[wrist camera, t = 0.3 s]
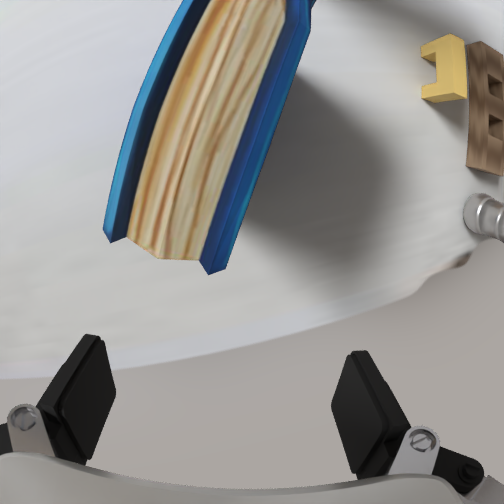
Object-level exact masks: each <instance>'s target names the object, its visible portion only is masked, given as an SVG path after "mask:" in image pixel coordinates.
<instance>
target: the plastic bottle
mask: <svg viewBox="0 0 504 504" xmlns="http://www.w3.org/2000/svg"><path fill="white" fill-rule="evenodd" d="M463 216H464V220H465V223H466V225H467V227H468V228H469V229H471V230H472V231H473V232H475V233H478V234H482V235H487V236H490V237H493V238H496V239H498V240H500V241H502V242H503V243H504V204H503V203H501V202H499V201H497V200H495V199H494V198H492V197H491V196H489V195H487V194H484V193H476V194H473V195H472V196H471V197H469V198H468V200H467V201H466V203H465V206H464V212H463Z"/></svg>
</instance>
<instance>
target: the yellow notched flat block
mask: <svg viewBox="0 0 504 504" xmlns="http://www.w3.org/2000/svg"><path fill="white" fill-rule="evenodd" d="M421 57H422V58H425V59H427V60H430V61H432V62H436V76H437V83H432V84H428V85H424V86H422V99H425V100H428V101H431V102H434V103H436V102H443V101H451V100H458V99H467V75H466V58H465V47H464V40H462V39H460V38H459V37H457V36H455V35H453V34H451V33H450V34H448V35H445V36H443V37H441V38H438V39H436V40H434V41H431V42H429V43H427V44H425V45H423V46H421Z"/></svg>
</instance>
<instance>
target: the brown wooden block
mask: <svg viewBox="0 0 504 504" xmlns="http://www.w3.org/2000/svg"><path fill="white" fill-rule="evenodd" d="M466 46H467V57H468V72H469V133H468V148H467V160H466V166H467V167H471V168H474V169H477V170H480V171H483V172H486V173H490V174H494V175H499V176H503V173H504V60H503V55H502V54H500V53H499V52H497V51H496V50H494V49H493V48H491V47H490V46H488V45H486V44H485V43H483V42H481V41H479V42H476V43H472V44H469V45H466Z"/></svg>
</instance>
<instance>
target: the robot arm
mask: <svg viewBox="0 0 504 504" xmlns="http://www.w3.org/2000/svg"><path fill="white" fill-rule="evenodd" d="M115 397H116V388H115V384H114V381H113V377H112V373H111V368H110V364H109V360H108V356H107V351H106V346H105V342H104V341H103V340H101V338H100V337H99V336H96V335H90V334H85V335H84V336H83V338H82V339H81V340H80V342H79V343H78V345H77V346H76V347H75V349H74V350H73V352H72V353H71V355H70V356H69V358H68V359H67V361H66V362H65V363H64V364H63V365H62V366H61V368H60V369H59V371H58V372H57V374H56V375H55V377H54V378H53V380H52V382H51V383H50V385H49V386H48V388H47V390H46V391H45V393H44V394H43V396H42V397H41V399H40V400H39V402H38V404H37V405H36V407H35V406H33V405H30V404H20V405H18V406H15V407H14V408H13V409H12V410H11V411H10V412H9V414H8V417H7V423H5V424H1V425H0V504H504V485H503V484H501V483H500V482H498V481H497V480H495V479H494V478H492V477H491V476H490V475H488V476H487V477H485V476H484V470H483V467H482V465H481V464H480V463H479V462H478V461H477V460H475V459H472V458H470V457H467V456H464V455H461V454H459V453H456V452H453V451H451V450H448V449H446V448H443V447H441V446H440V440H439V436H438V435H437V433H436V432H434V431H433V430H432V429H430V428H428V427H425V426H415V427H411V426H410V424H409V422H408V420H407V418H406V416H405V414H404V413H403V411H402V409H401V407H400V405H399V403H398V402H397V400H396V398H395V396H394V394H393V393H392V391H391V389H390V387H389V385H388V384H387V382H386V381H384V379H383V377H382V375H381V374H380V372H379V370H378V368H377V366H376V365H375V363H374V361H373V359H372V358H371V356H370V354H369V353H368V351H366V350H364V351H352V353H351V355H348V356H347V357H346V361H345V364H344V367H343V370H342V373H341V376H340V379H339V382H338V385H337V388H336V391H335V394H334V396H333V399H332V403H331V409H332V412H333V415H334V419H335V422H336V425H337V428H338V431H339V434H340V437H341V440H342V443H343V447H344V450H345V453H346V456H347V459H348V462H349V466H350V469H351V472H352V473H353V474H356V476H357V479H358V480H355V481H348V482H341V483H335V484H326V485H318V486H307V487H295V488H278V489H225V488H207V487H196V486H186V485H177V484H170V483H163V482H156V481H150V480H145V479H139V478H134V477H129V476H124V475H120V474H116V473H111V472H108V471H103V470H99V469H96V468H92V467H88V466H85V465H86V462H87V459H88V460H90V459H91V458H92V456H93V453H94V451H95V448H96V445H97V442H98V440H99V437H100V435H101V432H102V429H103V427H104V424H105V422H106V419H107V417H108V414H109V412H110V409H111V407H112V404H113V402H114V399H115ZM74 462H75V463H74Z"/></svg>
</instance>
